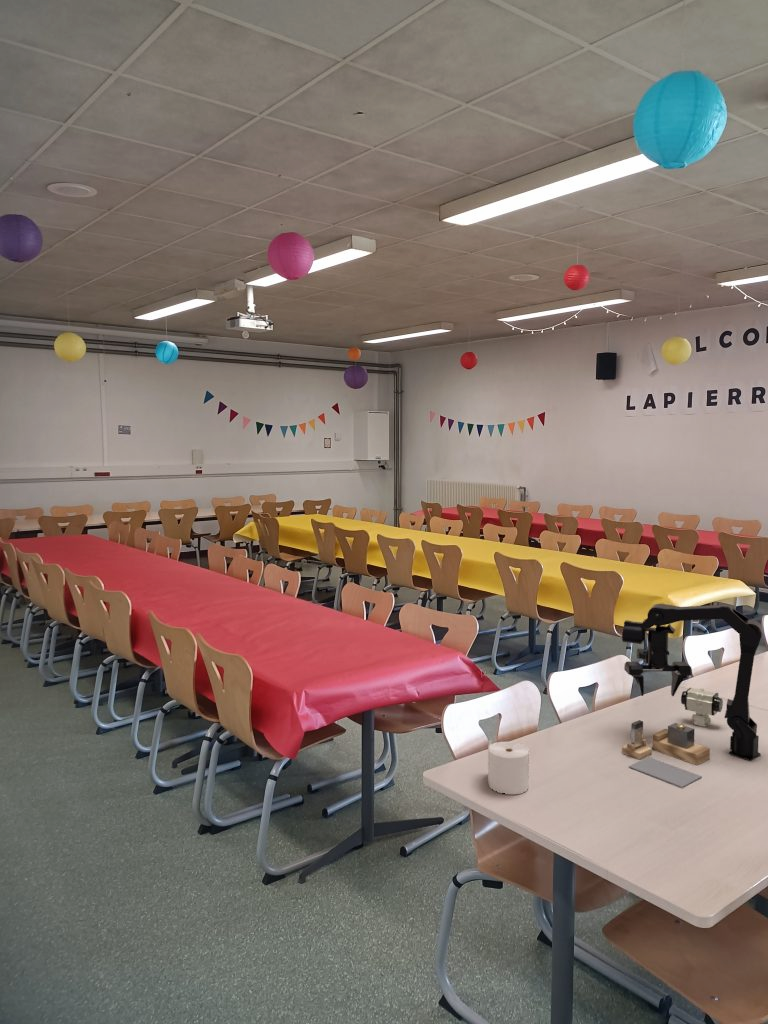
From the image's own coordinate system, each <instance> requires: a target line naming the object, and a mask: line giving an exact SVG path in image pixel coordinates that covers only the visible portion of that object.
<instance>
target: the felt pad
mask: <svg viewBox="0 0 768 1024" xmlns="http://www.w3.org/2000/svg"><path fill="white" fill-rule="evenodd" d="M628 768H629V769H631V770H633V771H636V772H639V773H642V774H644V775H647V776H650V777H652V778H655V779H657V780H660V781H661V782H664V783H667V784H670V785H672V786H674V787H678V788H681V789H684V788H685V787H687V786H689V785H690V784H693V783H694V782H697V781H698V780H701V779H702V778H703V775H700V774H697V773H694V772H691V771H689V770H686V769H683V768H680V767H678V766H674V765H672V764H669V763H667V762H664V761H661V760H658V759H656V758H653V757H651V756H647V757H645V758H643V759H641V760H639V761H637V762H634V763H632V764H630V765H628Z"/></svg>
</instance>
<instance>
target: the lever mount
mask: <svg viewBox="0 0 768 1024" xmlns="http://www.w3.org/2000/svg"><path fill="white" fill-rule="evenodd" d="M652 752H653V749H652V747H648V746H647V739H645V738H643V744H642V745H641V746H639V747H637V748H635V745H634V744H631V742H628V743H627V744H626V745H624V746H622V747H621V754H623V755H626V756H628V757H631V758H634V759H637V760H639V761H641V760H643V759H645V758H648V757H650V756H651V755H653V754H652Z"/></svg>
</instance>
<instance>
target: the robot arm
mask: <svg viewBox="0 0 768 1024" xmlns="http://www.w3.org/2000/svg"><path fill="white" fill-rule="evenodd" d="M707 620H722V621H724V622H725V623H727V625H728V626H729V627H731V629H733V630H734V631H735V632H736V633H737V634H739V635H738V636H739V647H740V656H739V662H738V663H739V664H738V670H737V677H736V682H735V683H736V684H735V690H734V697H733V698H732V699H730V698H727V700H726V701H727V702H726V710H725V714H724V719H726V725H727V726H728V727H729V728H730V729H731V730H732V732H731V735H730V736H729V737H730V740H729V741H730V742H729V746H730V747H729V749H730V751H728V754H729V755H731V756H735V757H737V758H741V759H743V760H748V761H753V760H755V759H757V758H759V757H761V753H760V752H759V737H760V736H759V735H757V733H758V724H757V723H756V721H754V719H752V717H751V716H750V703H749V695H750V688H751V680H752V673H753V667H754V661H755V655H756V652H757V650H758V647H759V645H760V642H761V639H762V636H763V626H762V625H761V623H760V622H758V621H757V620H756V619H750V618H748V617H747V616H746V615H744V614H743V613H741V612H740V611H738V610H736V609H734V608H733V607H732V606H731V605H730V604H728V603H722V604H715V605H713V604H712V605H709V604H708V605H695V606H694V605H693V606H677V605H676V606H675V605H672V604H666V603H655V604H653V606H651V607H650V609H649V610H648V612H647V618H644V619H643V621H642V622H639V621H632V620H625V621H624V622H623V628H622V633H621V640H622V642H623V643H627V644H628V643H629V644H637V645H643V643H644V642H647V645H648V646H647V647H646V651H645V649H644V648H636V659H637V660H642V663H645V664H641V663H639V661H625V663H624V667H623V669H624V671H625V673H627V674H628V675H629V676H631V677H632V678H634V679H635V682H636V684H637V688H638V690H639V692H640V696H642V697H643V696H644V695H645V694H644V693H645V691H644V689H645V688H644V678H645V677H644V676H643V673H644V672H671V688H670V689H671V690H670V694H671V697H674V696H675V695H676V693H677V690H678V689H679V686H680V685H681V684H682V682H683V681H684V679H688V676H692V674H693V669H692V666H690V665H689V664H688V663H687V662H685V661H672V664H669V661H668V660H669V655H670V651H669V634H672V635H673V634H675V633H676V629H675V628H674V627H672V624H673V623H678V622H681V621H707ZM654 626H655V627H654Z"/></svg>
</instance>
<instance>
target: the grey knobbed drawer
mask: <svg viewBox="0 0 768 1024" xmlns="http://www.w3.org/2000/svg"><path fill="white" fill-rule="evenodd" d="M667 729H668V743H671V744H674V745H677V746H680V747H682V748H685V749H688V748H690V747H692V746H694V743H695V728H693V727H691V726H687V725H685V724H683V723H678V722H673V723H672V724H669V725H667Z"/></svg>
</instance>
